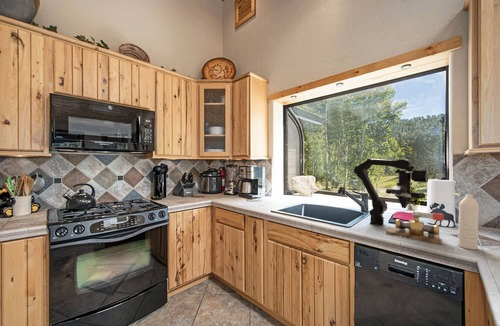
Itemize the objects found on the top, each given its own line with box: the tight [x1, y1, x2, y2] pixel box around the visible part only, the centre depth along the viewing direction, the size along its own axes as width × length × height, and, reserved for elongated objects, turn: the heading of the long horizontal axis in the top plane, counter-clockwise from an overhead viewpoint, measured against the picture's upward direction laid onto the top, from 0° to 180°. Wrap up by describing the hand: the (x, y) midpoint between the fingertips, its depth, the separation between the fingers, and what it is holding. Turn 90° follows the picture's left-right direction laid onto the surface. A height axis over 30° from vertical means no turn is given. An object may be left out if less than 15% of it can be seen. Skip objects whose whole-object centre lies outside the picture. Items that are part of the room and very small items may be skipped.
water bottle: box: [452, 192, 480, 251], centre depth 100 cm, size 9×6×25 cm
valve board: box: [385, 225, 442, 245], centre depth 114 cm, size 22×11×2 cm, turn 51°
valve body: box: [394, 217, 440, 238], centre depth 113 cm, size 18×6×9 cm, turn 51°
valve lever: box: [412, 210, 444, 222], centre depth 110 cm, size 12×3×3 cm, turn 57°
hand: (403, 207), depth 123 cm, fingers closed
